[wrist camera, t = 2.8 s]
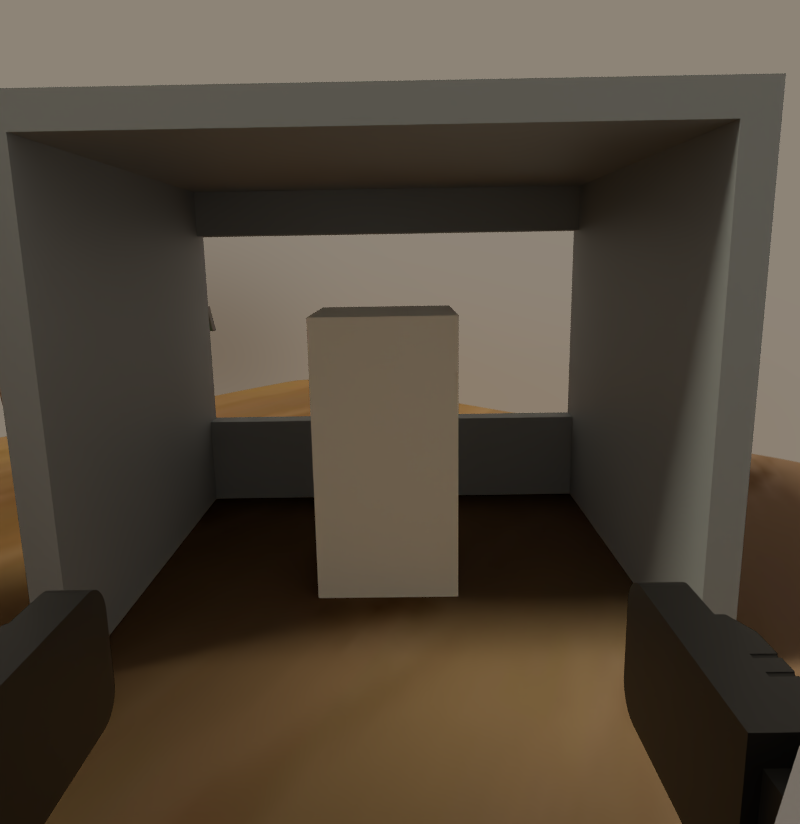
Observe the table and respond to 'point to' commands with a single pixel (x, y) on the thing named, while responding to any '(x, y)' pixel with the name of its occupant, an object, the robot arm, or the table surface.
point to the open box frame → (383, 214)
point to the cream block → (385, 450)
